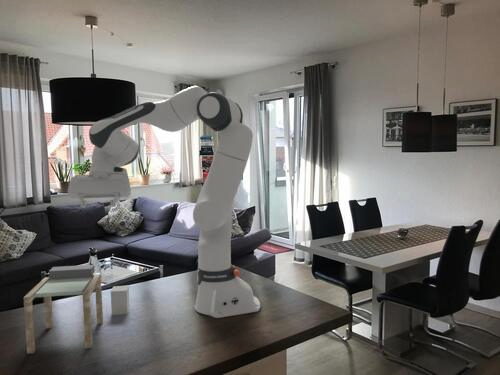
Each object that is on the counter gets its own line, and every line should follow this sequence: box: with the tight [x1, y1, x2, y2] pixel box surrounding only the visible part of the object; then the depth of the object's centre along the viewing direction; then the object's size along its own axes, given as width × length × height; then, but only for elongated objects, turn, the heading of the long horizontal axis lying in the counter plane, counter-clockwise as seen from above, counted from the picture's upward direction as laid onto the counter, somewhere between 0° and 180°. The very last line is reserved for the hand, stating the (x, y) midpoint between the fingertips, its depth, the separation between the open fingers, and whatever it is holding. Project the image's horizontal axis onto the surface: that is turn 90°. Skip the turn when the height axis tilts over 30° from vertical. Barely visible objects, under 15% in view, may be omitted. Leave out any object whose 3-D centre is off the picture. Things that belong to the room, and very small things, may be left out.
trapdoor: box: [35, 264, 95, 298], centre depth 116 cm, size 12×16×4 cm
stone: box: [110, 284, 130, 316], centre depth 133 cm, size 5×5×8 cm
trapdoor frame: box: [23, 273, 104, 355], centre depth 115 cm, size 16×17×16 cm
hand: (97, 206), depth 132 cm, fingers open, 8 cm apart
